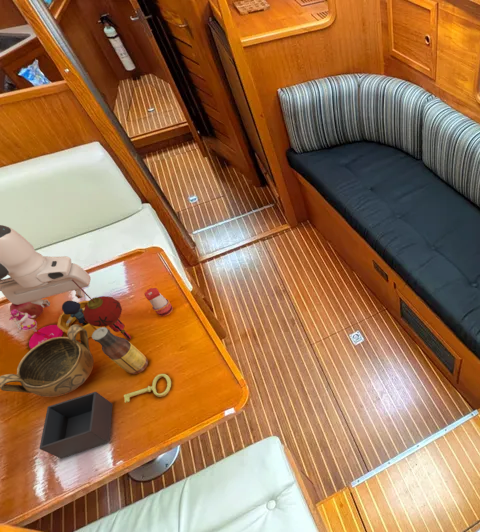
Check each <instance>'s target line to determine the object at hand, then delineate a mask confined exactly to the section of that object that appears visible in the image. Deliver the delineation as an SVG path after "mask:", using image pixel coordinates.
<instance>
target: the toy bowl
mask: <svg viewBox="0 0 480 532" xmlns="http://www.w3.org/2000/svg"><path fill="white" fill-rule="evenodd" d="M88 301H89V300H82V301H81V300H80V301H79V302H78V303H79V304H80V305H81V306H80V308H85V306H86V305H87V303H88ZM82 313H84V311H82ZM70 315H71V314H69V315H66V314H64V312H62V313H60V315H59V316H58V320H57V324H56V325H57V326H58V327H59V328H60V329H61V330H62V331H63V333H65V335H67V333H68V329H69V328H70V327H71V326H72V325H73V324H74V323H75V322H76V320H77V319H76V318H75V317H73V319H72V320H71V322H70V323H69V326H67V327H66V323H67V321H68V319H69V318H70ZM82 327H83V328H84V329H85V330H86V331H87V335H88V339H89V338H92V334H93V332H94V331H95V330H97V329H98V328H101V327H97V326H93V325H91V324H89V323H87V325H85V326H84V325H83V326H82ZM103 327H105V328H106V326H103ZM76 340H77V341H81V339H80V331H79V332H78V333H77V335H76Z"/></svg>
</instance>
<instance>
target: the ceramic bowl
mask: <svg viewBox="0 0 480 532" xmlns="http://www.w3.org/2000/svg"><path fill="white" fill-rule="evenodd" d="M79 331H80V339H81V340H76V335H77V333H78V332H79ZM66 335H67V336H62V337H56V338H51V339H48V340H46V341H44V342H42V343H40V344H38V345H37V346H35V347H34V348H32V349H31V348H30V350H29V351H28V352H27V353H25V355H24V356H23V357H22V358H21V360H20V362H19V363H18V365H17V368H16V374H15V373H8V374H2V375H0V390H1V391H4V392H16V393H25V394H34V395H36V396H39V397H43V398H53V397H60V396H64V395H67V394H69V393H71V392H73V391H75V390H77V389H78V388H79V387H81V386H82V385H83V384H84V383H85V382H86V380H88V378H89V377H90V375H91V373H92V372H93V370H94V369H93V368H94V364H95V363H94V361H95V360H94V356H93V354H92V353H91V350H90V346H89V338H88V335H87V331H86V330H85V329H84V328H83V326H82V325H80V324H78V323H76V324H74V323H73V324H71V327H70V328H69V329H68V333H67V334H66ZM9 383H20V384H9Z"/></svg>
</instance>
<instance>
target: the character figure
mask: <svg viewBox="0 0 480 532" xmlns="http://www.w3.org/2000/svg"><path fill="white" fill-rule="evenodd" d="M80 306H81V305H80V304H79V303H78V302H77V301H75V300H66V301H64V302H63V303H62V305H61V310H62V311H63V312H64V314H66V315H69V314H71V315H70V318H69V319H68V321H67V323H66V327H67V326H69V323H70V322H71V320H72V319H73V317H75V318H76V320H77V321H78V323H79V325H80V324H82V325H83V326H85V325H87V324H88V322H87V321H86V320H85V318H84V314H83V313H82V311H84V309H85V308H80ZM63 312H62V313H63Z"/></svg>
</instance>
